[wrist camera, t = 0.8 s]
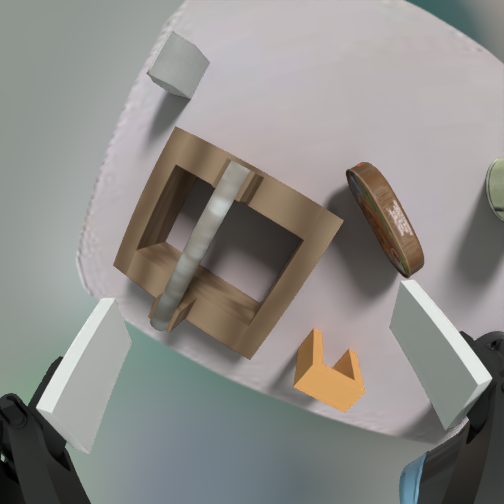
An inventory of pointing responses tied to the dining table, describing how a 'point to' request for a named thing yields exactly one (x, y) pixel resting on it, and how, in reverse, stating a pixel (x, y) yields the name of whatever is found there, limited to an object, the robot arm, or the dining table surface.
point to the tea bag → (178, 66)
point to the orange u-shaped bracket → (328, 375)
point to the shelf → (205, 284)
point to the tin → (386, 218)
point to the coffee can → (496, 187)
